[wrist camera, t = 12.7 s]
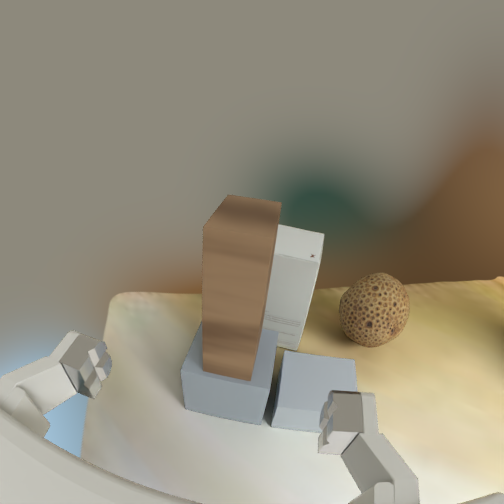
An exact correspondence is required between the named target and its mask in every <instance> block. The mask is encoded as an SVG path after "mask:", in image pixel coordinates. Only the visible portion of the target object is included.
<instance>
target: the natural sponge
mask: <svg viewBox="0 0 504 504" xmlns="http://www.w3.org/2000/svg"><path fill="white" fill-rule="evenodd" d="M339 313H340V322H341V326H342V329H343V331H344V332H345V334H346V335H347V336H348V337H349V338H350V339H351V340H353V341H355V342H356V343H358V344H360V345H362V346H365V347H377V346H380V345H382V344H385V343H387V342H389V341H390V340H392V339H394V338H395V337H397V336H398V335H399V334H400V333H401V332H402V330H403V328H404V327H405V324H406V322H407V319H408V316H409V297H408V295H407V292H406V290H405V288H404V287H403V285H402V284H401V283H400V282H399V281H398V280H397V279H395V278H394V277H392V276H391V275H388V274H386V273H373V274H370V275H367V276H365V277H363V278H361V279H360V280H358V281H357V282H356V283H355V284H354V285H353V286H351V287H350V288H349V289H348V290H347V291H346V292H345V293H344V294H343V296H342V297H341V301H340V307H339Z"/></svg>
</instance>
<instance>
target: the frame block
mask: <svg viewBox="0 0 504 504" xmlns="http://www.w3.org/2000/svg"><path fill="white" fill-rule="evenodd" d="M280 210H281V202H275V201H268V200H262V199H255V198H248V197H241V196H234V195H228V196H227V197H226V198H225V199H224V201H223V202H222V203H221V205H220V206H219V207H218V208H217V210H216V211H215V212H214V213H213V215H212V216H211V217H210V219H209V220H208V221H207V223H206V224H205V225H204V227H203V261H202V264H203V265H202V349H203V371H204V372H209V373H213V374H217V375H222V376H227V377H231V378H236V379H241V380H246V381H251V377H252V373H253V368H254V364H255V360H256V355H257V351H258V346H259V342H260V337H261V332H262V326H263V320H264V314H265V308H266V302H267V296H268V289H269V283H270V277H271V270H272V264H273V257H274V251H275V244H276V237H277V231H278V224H279V217H280Z"/></svg>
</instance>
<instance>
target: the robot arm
mask: <svg viewBox="0 0 504 504" xmlns="http://www.w3.org/2000/svg"><path fill="white" fill-rule="evenodd" d="M106 349H107V346H106V344H105V342H103V341H100V340H97V339H95V338H92V337H89V336H87V335H84V334H82V333H79V332H76V331H74V330H72V331H69V332H68V333H67V335H66V336H65V337H64V338H63V339H62V341H61V342H60V343H59V345H58V346H57V347H56V348H55V350H54V351H53V352H52V354H51V355H50V356H49V357H47V356H46V357H43V358H41V359H39V360H36V361H34V362H32V363H30V364H28V365H26V366H23V367H21V368H19V369H16V370H14V371H12V372H10V373H8V374H5V375H3V376H2V377H1V379H0V504H202V503H198V502H194V501H190V500H187V499H183V498H180V497H176V496H173V495H169V494H166V493H163V492H160V491H157V490H154V489H151V488H148V487H145V486H143V485H140V484H137V483H135V482H132V481H130V480H127V479H124V478H122V477H120V476H117V475H115V474H113V473H110V472H108V471H106V470H103V469H101V468H99V467H97V466H95V465H93V464H91V463H89V462H87V461H85V460H83V459H81V458H79V457H77V456H75V455H73V454H71V453H69V452H67V451H65V450H64V449H62V448H60V447H58V446H57V445H55V444H53V443H51V442H50V441H48V440H46V439H45V438H44V436H45V434H46V433H47V431H48V429H49V427H50V423H49V422H48V421H47V419H46V418H45V417H44V416H43V414H46V413H47V412H49V411H50V410H52V409H53V408H55V407H57V406H58V405H60V404H61V403H63V402H64V401H66V400H67V399H69V398H70V397H72V396H73V395H75V394H77V392H78V393H80V394H83V395H85V396H88V397H90V398H93V399H95V397H96V395H97V394H98V392H99V390H100V389H101V387H102V385H101V381H102V380H104V379H106V378H107V377H108V375H109V373H110V371H111V367H112V360H111V357H110V355H109V354H108V353H107V352H106ZM319 427H320V428H321V430H322V432H321V434H320V436H319V439H318V453H321V454H333V455H341V458H342V459H343V461H344V463H345V465H346V467H347V468H348V470H349V472H350V474H351V475H352V477H353V479H354V481H355V482H356V484H357V486H358V488H359V489H360V491H361V493H362V494H361V495H359V496H358V497H356V498H355V499H353V500H352V501H350V502H349V503H348V504H420V499H419V484H418V478H417V477H416V475H415V474H414V473H413V472H412V470H411V469H410V468H409V466H408V465H407V464H406V463H405V461H404V460H403V459H402V458H401V456H400V455H399V454H398V452H397V451H396V450H395V449H394V447H393V446H392V445H391V444H390V442H389V441H388V440H387V438H386V437H385V436H384V435H383V434H380V433H379V429H378V418H377V408H376V399H375V395H374V393H365V392H355V391H340V390H331V391H330V392H329V394H328V401H326V402H324V405H323V407H322V410H321V414H320V421H319ZM459 504H504V494H503V493H500V492H497V493H493V494H489V495H486V496H483V497H480V498H477V499H473V500H470V501H466V502H463V503H459Z"/></svg>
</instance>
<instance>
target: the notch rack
mask: <svg viewBox="0 0 504 504" xmlns="http://www.w3.org/2000/svg"><path fill="white" fill-rule="evenodd" d="M278 334H279V332H278V331H272V330H266V329H262V332H261V337H260V342H259V346H258V351H257V355H256V360H255V364H254V368H253V373H252V377H251V381H246V380H241V379H236V378H231V377H227V376H222V375H217V374H213V373H209V372H204V371H203V349H202V322H201V324H200V326H199V329H198V331H197V333H196V335H195V338H194V340H193V342H192V345H191V347H190V349H189V351H188V354H187V356H186V358H185V361H184V363H183V365H182V368H181V370H180V371H181V380H182V388H183V396H184V403H185V409H188V410H191V411H195V412H199V413H203V414H208V415H212V416H216V417H221V418H226V419H230V420H235V421H240V422H246V423H251V424H257V425H261V422H262V418H263V415H264V411H265V407H266V403H267V399H268V396H269V392H270V387H271V381H272V374H273V368H274V361H275V355H276V348H277V341H278ZM331 390H340V391H355V392H358V391H357V379H356V369H355V360H354V359H344V358H336V357H328V356H320V355H312V354H305V353H298V352H292V351H284V355H283V359H282V363H281V367H280V370H279V374H278V382H277V389H276V396H275V403H274V409H273V416H272V423H271V427H276V428H283V429H291V430H300V431H309V432H320V433H321V432H322V430H321V428H320V427H319V421H320V414H321V410H322V407H323V405H324V402H326V401H328V394H329V392H330V391H331Z"/></svg>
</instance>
